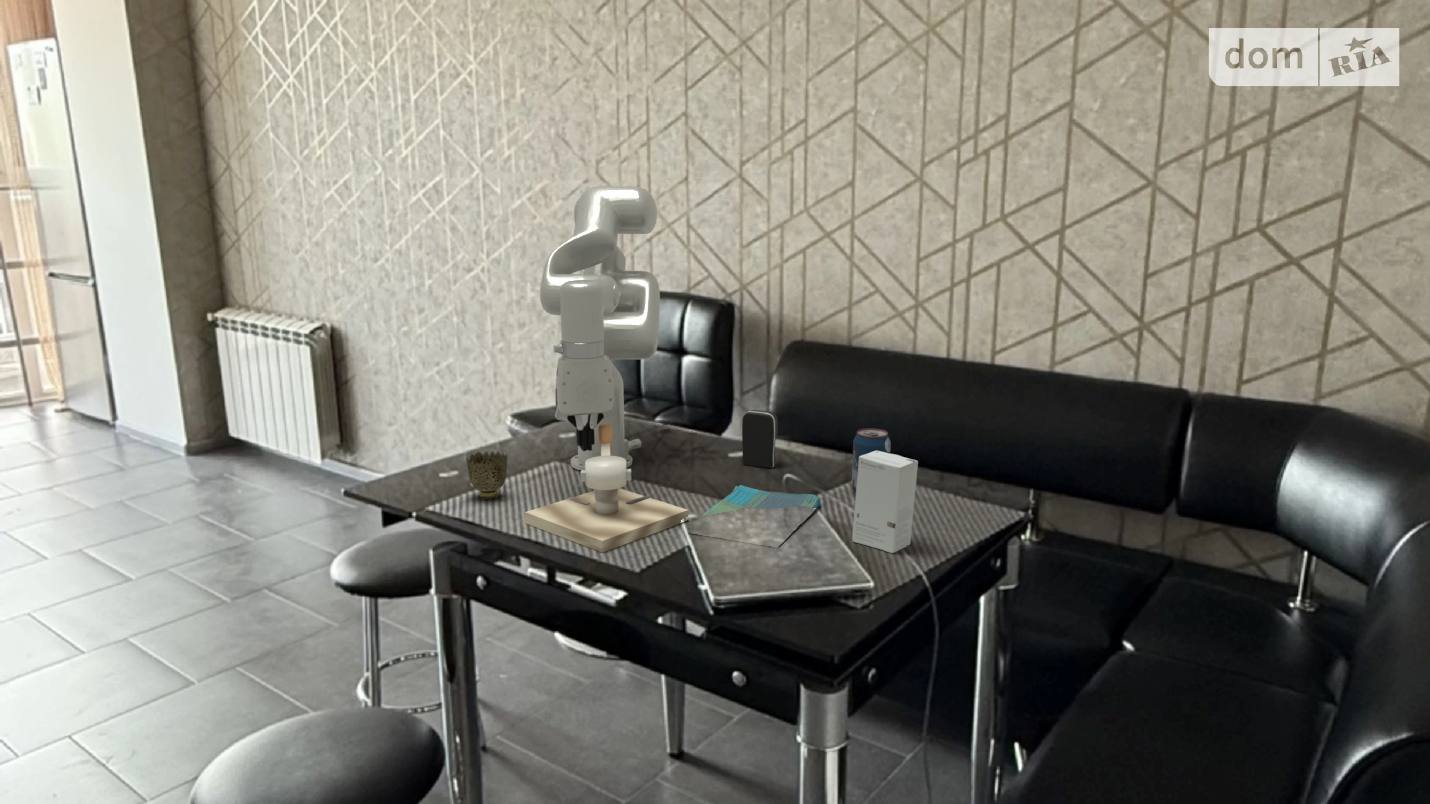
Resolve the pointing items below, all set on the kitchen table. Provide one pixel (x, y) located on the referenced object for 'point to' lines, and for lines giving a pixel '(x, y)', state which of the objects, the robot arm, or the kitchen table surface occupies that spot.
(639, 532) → the post board
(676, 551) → the kitchen table surface
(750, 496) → the dish towel
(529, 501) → the kitchen table surface
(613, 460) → the crank handle
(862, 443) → the soda can
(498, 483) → the cup
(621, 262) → the robot arm
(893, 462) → the skincare box
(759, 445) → the battery charger
